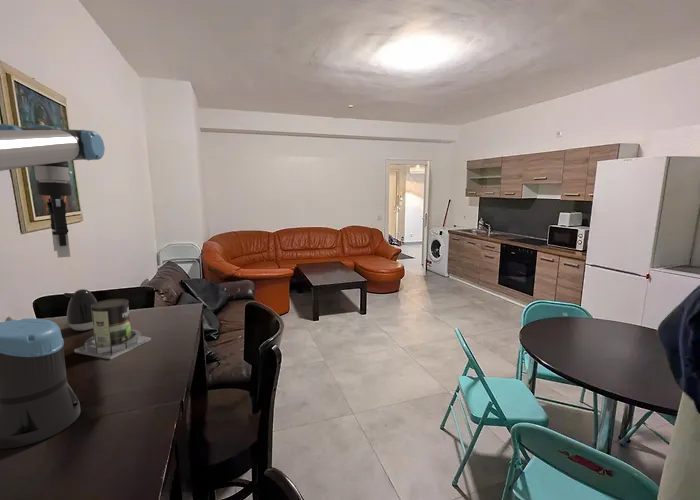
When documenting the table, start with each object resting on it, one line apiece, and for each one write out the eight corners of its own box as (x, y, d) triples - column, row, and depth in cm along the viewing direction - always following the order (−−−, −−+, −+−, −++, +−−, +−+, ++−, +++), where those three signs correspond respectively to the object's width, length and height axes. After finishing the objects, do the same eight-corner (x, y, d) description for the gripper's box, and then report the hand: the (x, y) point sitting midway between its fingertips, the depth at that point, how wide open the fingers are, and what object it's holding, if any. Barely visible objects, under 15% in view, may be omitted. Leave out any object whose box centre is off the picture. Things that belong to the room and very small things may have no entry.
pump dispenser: (72, 325, 130) (68, 287, 128) (104, 321, 135) (101, 284, 132) (63, 335, 121) (58, 294, 119) (98, 331, 125) (94, 291, 123)
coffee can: (134, 335, 120) (131, 297, 118) (128, 347, 111) (125, 306, 109) (99, 339, 116) (95, 300, 114) (90, 352, 107) (86, 309, 105)
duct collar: (110, 359, 105) (109, 350, 104) (74, 352, 109) (73, 343, 108) (151, 340, 119) (150, 332, 119) (117, 334, 123) (117, 326, 123)
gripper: (75, 182, 92) (83, 258, 95) (66, 182, 110) (73, 247, 113) (38, 180, 87) (47, 261, 90) (34, 181, 104) (42, 249, 108)
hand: (61, 253), depth 102 cm, fingers open, 13 cm apart
